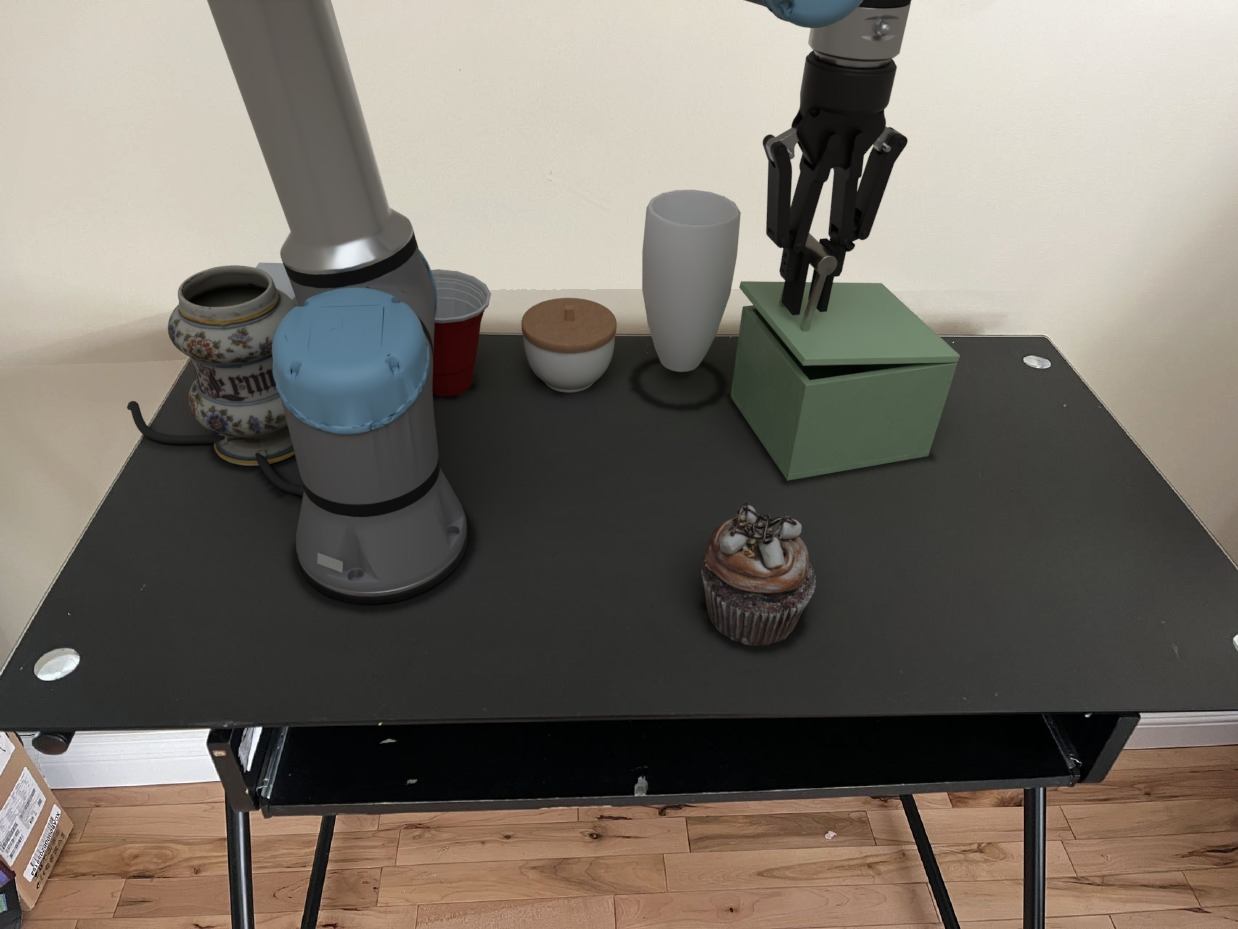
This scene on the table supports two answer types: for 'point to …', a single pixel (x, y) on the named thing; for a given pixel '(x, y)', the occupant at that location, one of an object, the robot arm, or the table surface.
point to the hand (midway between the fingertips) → (803, 306)
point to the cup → (687, 272)
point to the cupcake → (757, 577)
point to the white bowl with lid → (569, 342)
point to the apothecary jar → (234, 359)
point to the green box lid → (847, 321)
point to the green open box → (833, 405)
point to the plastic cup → (456, 330)
